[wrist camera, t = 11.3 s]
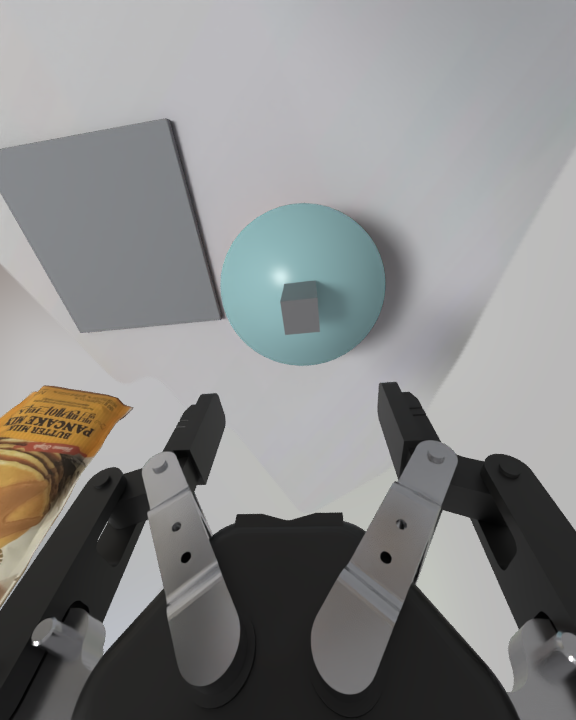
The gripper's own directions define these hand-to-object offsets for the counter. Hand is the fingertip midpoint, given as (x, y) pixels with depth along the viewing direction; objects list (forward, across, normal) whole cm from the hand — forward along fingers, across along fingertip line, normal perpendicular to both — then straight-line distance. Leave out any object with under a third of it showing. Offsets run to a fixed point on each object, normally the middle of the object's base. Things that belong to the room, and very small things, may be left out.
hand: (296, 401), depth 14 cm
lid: (+17, 0, 0) cm, 17 cm away
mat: (+23, +21, -6) cm, 31 cm away
